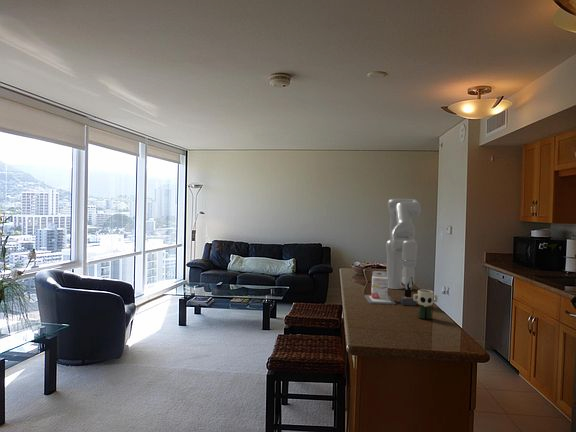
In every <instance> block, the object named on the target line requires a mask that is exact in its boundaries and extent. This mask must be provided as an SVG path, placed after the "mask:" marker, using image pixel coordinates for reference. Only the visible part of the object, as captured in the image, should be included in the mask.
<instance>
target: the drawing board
mask: <svg viewBox="0 0 576 432" xmlns="http://www.w3.org/2000/svg"><path fill="white" fill-rule="evenodd" d="M364 298H365V299H366V300H367V303H368V304H370V305H396V304H397V302H396V301H394V299H392V297H391V295H390V296H389V295H388V296H387V299H378V298H372V297H371V294H370V295H369V294H367V295H366V294H365V295H364Z"/></svg>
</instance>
